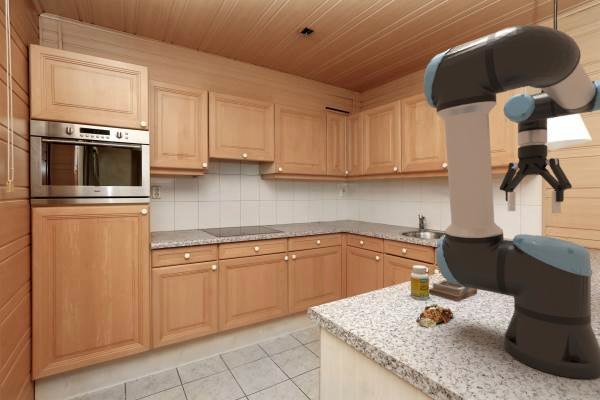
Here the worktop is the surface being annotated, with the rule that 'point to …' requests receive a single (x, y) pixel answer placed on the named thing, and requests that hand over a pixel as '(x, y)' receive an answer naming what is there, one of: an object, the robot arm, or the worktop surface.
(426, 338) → the worktop surface
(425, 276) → the supplement bottle
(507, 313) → the worktop surface
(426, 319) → the brown lumpy food piece
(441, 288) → the socket board
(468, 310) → the worktop surface
